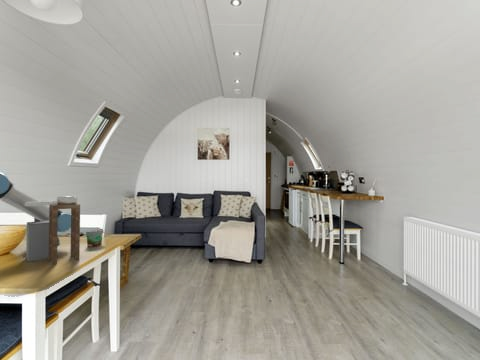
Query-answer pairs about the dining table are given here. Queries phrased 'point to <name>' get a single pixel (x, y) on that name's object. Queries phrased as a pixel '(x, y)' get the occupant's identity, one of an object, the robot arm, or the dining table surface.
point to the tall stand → (54, 228)
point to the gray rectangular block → (37, 240)
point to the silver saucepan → (60, 201)
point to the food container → (94, 238)
